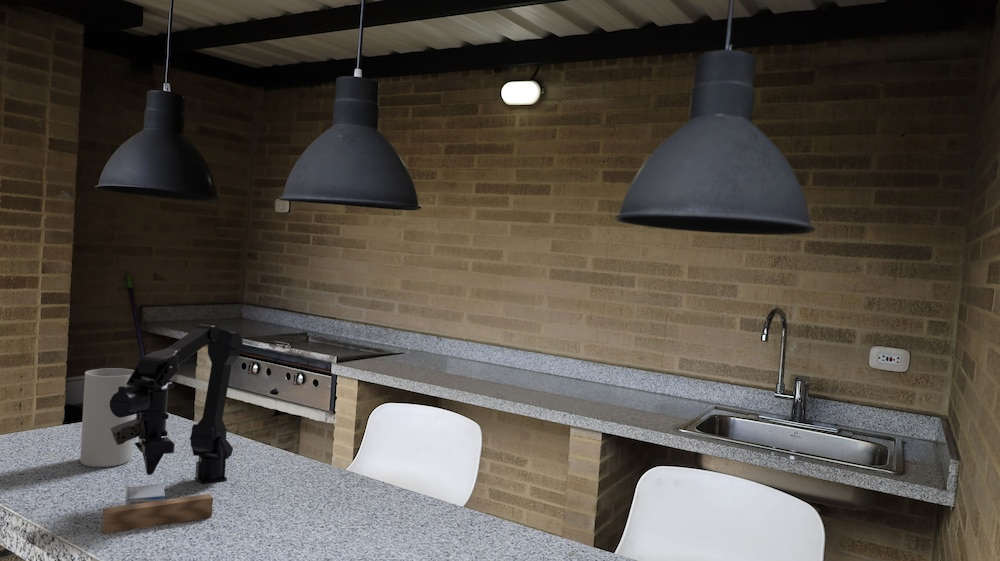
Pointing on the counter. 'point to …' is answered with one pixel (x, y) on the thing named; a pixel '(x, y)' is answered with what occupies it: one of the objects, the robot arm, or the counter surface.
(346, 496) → the counter surface
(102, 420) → the cylinder vase
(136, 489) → the medicine box
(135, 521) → the brown wooden block
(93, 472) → the counter surface
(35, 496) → the counter surface
